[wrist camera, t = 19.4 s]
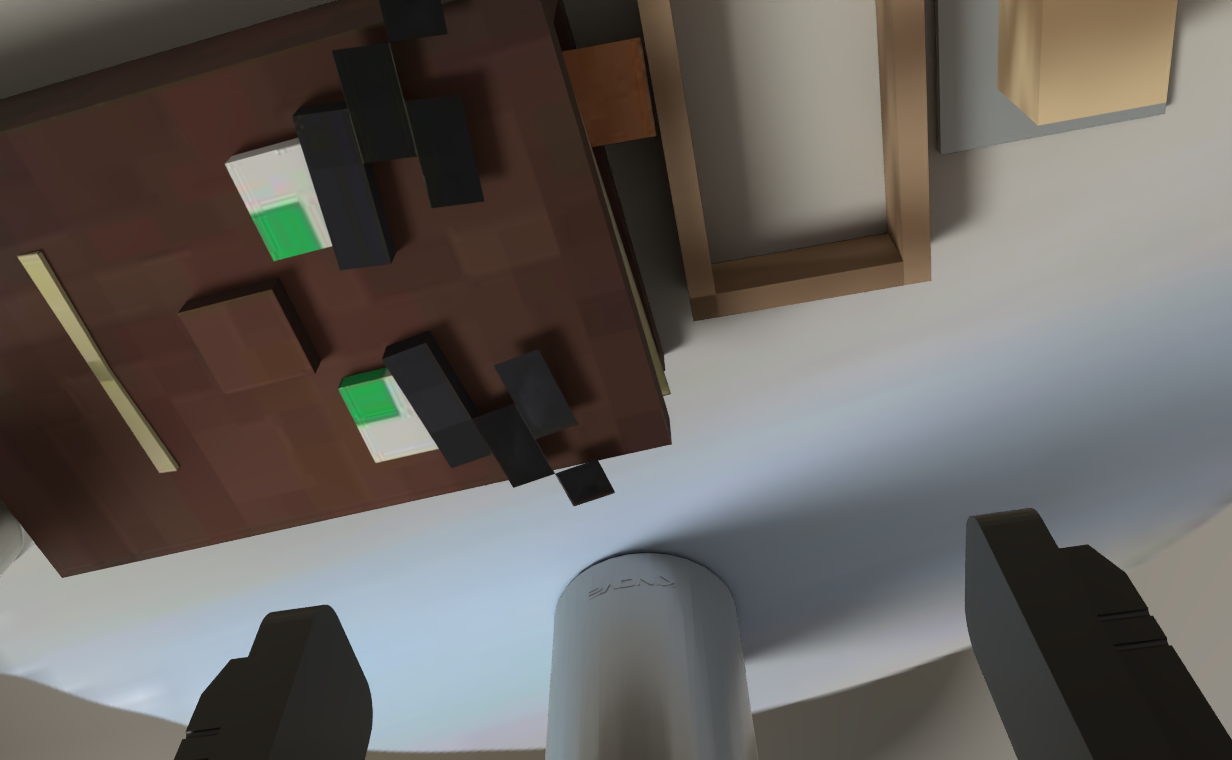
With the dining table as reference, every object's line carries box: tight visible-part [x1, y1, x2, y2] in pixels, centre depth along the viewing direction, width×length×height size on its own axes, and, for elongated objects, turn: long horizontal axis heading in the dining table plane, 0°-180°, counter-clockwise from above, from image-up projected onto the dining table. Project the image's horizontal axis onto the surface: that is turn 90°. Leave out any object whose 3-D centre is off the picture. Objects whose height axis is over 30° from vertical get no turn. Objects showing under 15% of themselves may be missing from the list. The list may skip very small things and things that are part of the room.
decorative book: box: [0, 0, 672, 578], centre depth 37 cm, size 19×8×30 cm
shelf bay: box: [637, 0, 931, 321], centre depth 34 cm, size 17×9×2 cm, turn 11°
